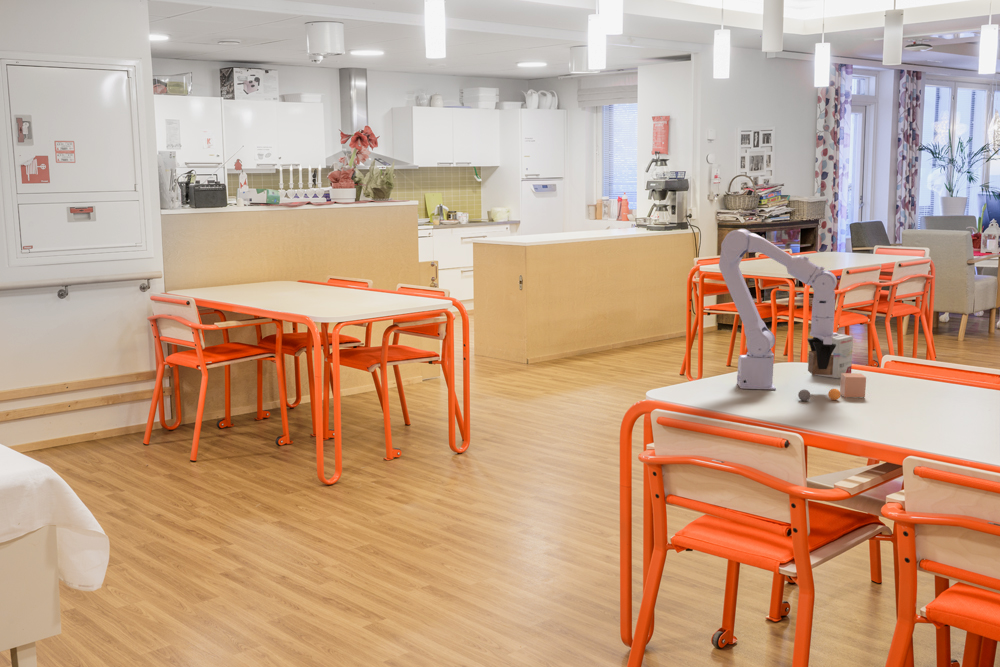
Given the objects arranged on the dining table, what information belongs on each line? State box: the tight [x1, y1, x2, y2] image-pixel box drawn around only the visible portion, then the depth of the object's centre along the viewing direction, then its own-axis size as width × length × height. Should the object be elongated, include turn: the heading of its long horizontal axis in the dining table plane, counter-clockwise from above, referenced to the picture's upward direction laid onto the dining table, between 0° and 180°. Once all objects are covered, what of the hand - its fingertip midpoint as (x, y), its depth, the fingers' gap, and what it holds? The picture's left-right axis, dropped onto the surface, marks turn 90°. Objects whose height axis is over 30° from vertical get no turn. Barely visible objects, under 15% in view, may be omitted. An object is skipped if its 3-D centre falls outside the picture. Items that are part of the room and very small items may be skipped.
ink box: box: [811, 333, 854, 379], centre depth 276 cm, size 9×9×12 cm
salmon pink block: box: [839, 372, 867, 398], centre depth 250 cm, size 5×5×6 cm
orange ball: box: [827, 388, 841, 401], centre depth 245 cm, size 3×3×3 cm
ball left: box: [797, 389, 811, 402], centre depth 243 cm, size 3×3×3 cm
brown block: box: [807, 350, 834, 376], centre depth 253 cm, size 5×5×6 cm
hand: (820, 366), depth 253 cm, fingers closed on brown block, 5 cm apart
